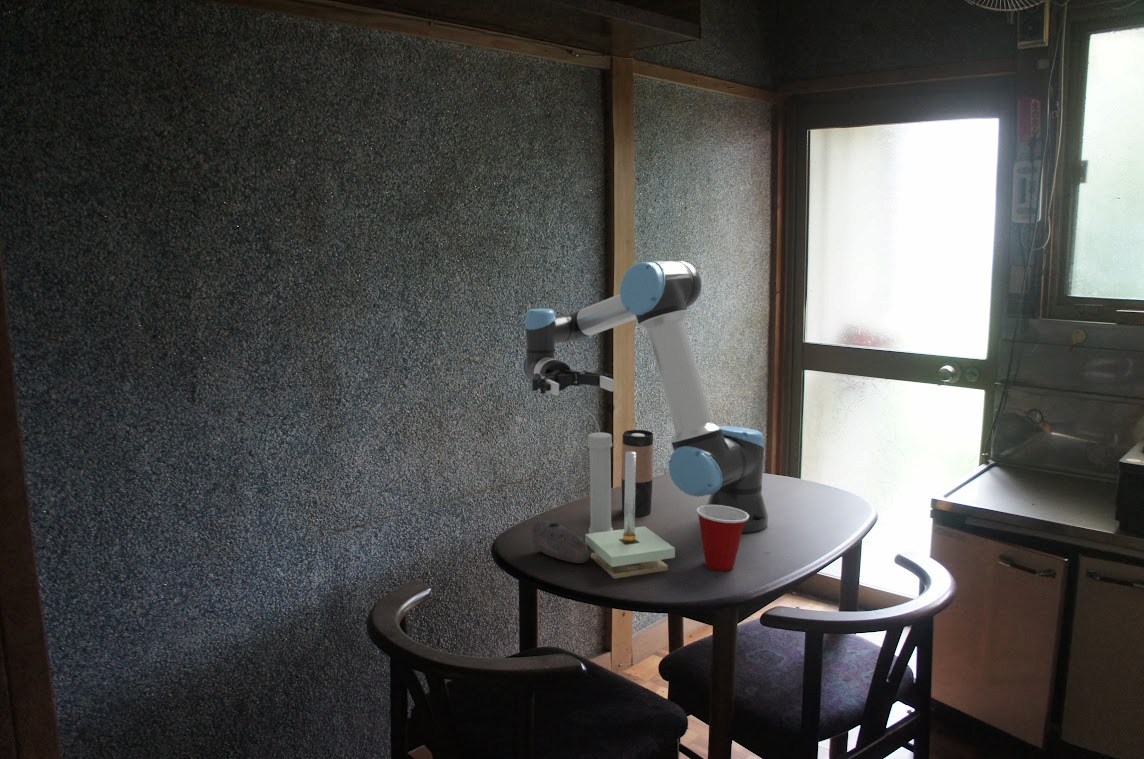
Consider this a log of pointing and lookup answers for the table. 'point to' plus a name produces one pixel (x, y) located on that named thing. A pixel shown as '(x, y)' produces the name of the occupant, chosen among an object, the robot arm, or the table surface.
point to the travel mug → (639, 468)
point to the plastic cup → (721, 534)
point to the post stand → (630, 529)
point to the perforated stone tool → (559, 542)
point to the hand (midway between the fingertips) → (585, 387)
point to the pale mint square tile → (629, 547)
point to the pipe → (600, 481)
